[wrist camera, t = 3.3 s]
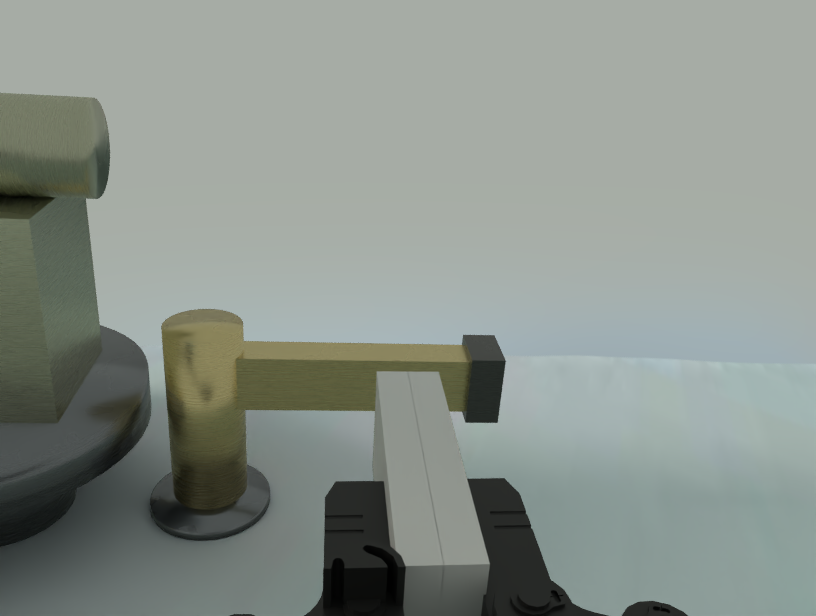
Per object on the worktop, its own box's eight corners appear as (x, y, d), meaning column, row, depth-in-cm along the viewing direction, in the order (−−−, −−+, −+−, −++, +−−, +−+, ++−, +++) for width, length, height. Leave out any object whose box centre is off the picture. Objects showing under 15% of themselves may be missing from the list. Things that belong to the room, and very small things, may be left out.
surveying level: (-382, 722, 23) (-679, 139, 16) (-57, 383, 42) (-127, 50, 35) (245, 701, 25) (229, 177, 18) (283, 386, 44) (282, 73, 37)
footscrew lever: (166, 509, 32) (153, 341, 29) (180, 465, 35) (169, 308, 32) (488, 507, 34) (510, 348, 30) (476, 465, 36) (494, 315, 33)
